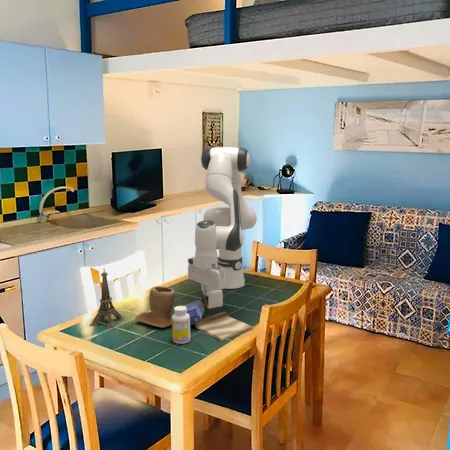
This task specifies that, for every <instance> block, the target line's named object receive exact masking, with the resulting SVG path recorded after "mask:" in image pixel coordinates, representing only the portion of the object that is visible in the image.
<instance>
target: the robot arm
mask: <svg viewBox="0 0 450 450" xmlns="http://www.w3.org/2000/svg"><path fill="white" fill-rule="evenodd" d="M200 162H201V165H202V166H201V167H202V168H203V169H204V170H206V175H205V190H206V191H207V193H208V195H209V196H211V197H212V198H214V199H215V200H217V201H219V202H222V203H224V204H226V205H227V206H228V207H227V206H226V207H222V206H221V207H220V206H218V207H211V208H207V209H206V210H205V212H204V214H203V220H201V221H199V222H197V223H196V226H195V231H194V232H195V234H194V246H195V252H194V253H195V254H194V256H192V257H188V258H187V263H188V265H187V276H188V279H189V280H190V281H194V282H196V283H198V284H200V287H201V290H203V294H204V295H207V296H210V295H211V290H212V288H214V289H217V290H223V289H229V290H230V289H231V290H232V289H240V288H243V287H244V286H246V283H245V282H246V279H245V276H244V267H243V257H242V247H243V243H244V234H243V231H244V230H250V229H253V228H254V227H255V225H256V223H257V213H256V212H255V210H254V209H253V208H252V207H250V206H249V205H248V204H247V203H246V202H245V200H244V198H243V194H242V193H243V192H242V176H241V175H242V174H241V173H242V172H244V171H246V170H247V169H248V168H249V166H250V164H251V163H250V162H251V157H250V153H249V151H248V149H246V148H245V147H235V146H217V147H215V146H214V147H213V146H212V147H211V146H209V147H205V148H204V149H203V150H202V153H201V157H200ZM217 250H218V251H217ZM206 286H207V287H206Z"/></svg>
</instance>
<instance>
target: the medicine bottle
mask: <svg viewBox="0 0 450 450" xmlns="http://www.w3.org/2000/svg"><path fill="white" fill-rule="evenodd" d="M206 287H207V286H206ZM223 297H224V296H223V289H221V290H217V289H214V288H212V290H211V295H210V296H207V295H204V294H203V290H202V289H201V303H202V305H203V307H205V308H207V309H208V310H209V309H215V308H219V307H223V303H224V302H223Z"/></svg>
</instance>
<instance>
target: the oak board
mask: <svg viewBox="0 0 450 450" xmlns="http://www.w3.org/2000/svg"><path fill="white" fill-rule="evenodd" d="M193 325H194V326H193V328H194V329H197V330H198V331H201V332H203V333H204V334H207V335H209V336H211V337H214V338H215V339H217V340H220V341H224V340H226V339H229V338H232V337H235V336H237V335H240V334H243V333H245V332H248V331H251V330H253V325H250V324H247V323H246V322H242V321H240V320H238V319H235V318H233V317H231V316H229V315H228V312H227V311H222V312H219V313H216V314H213V315H209V316H206V317H205V318H204V317H203V318H201V320H200V322H198V323H195V324H193Z"/></svg>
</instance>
